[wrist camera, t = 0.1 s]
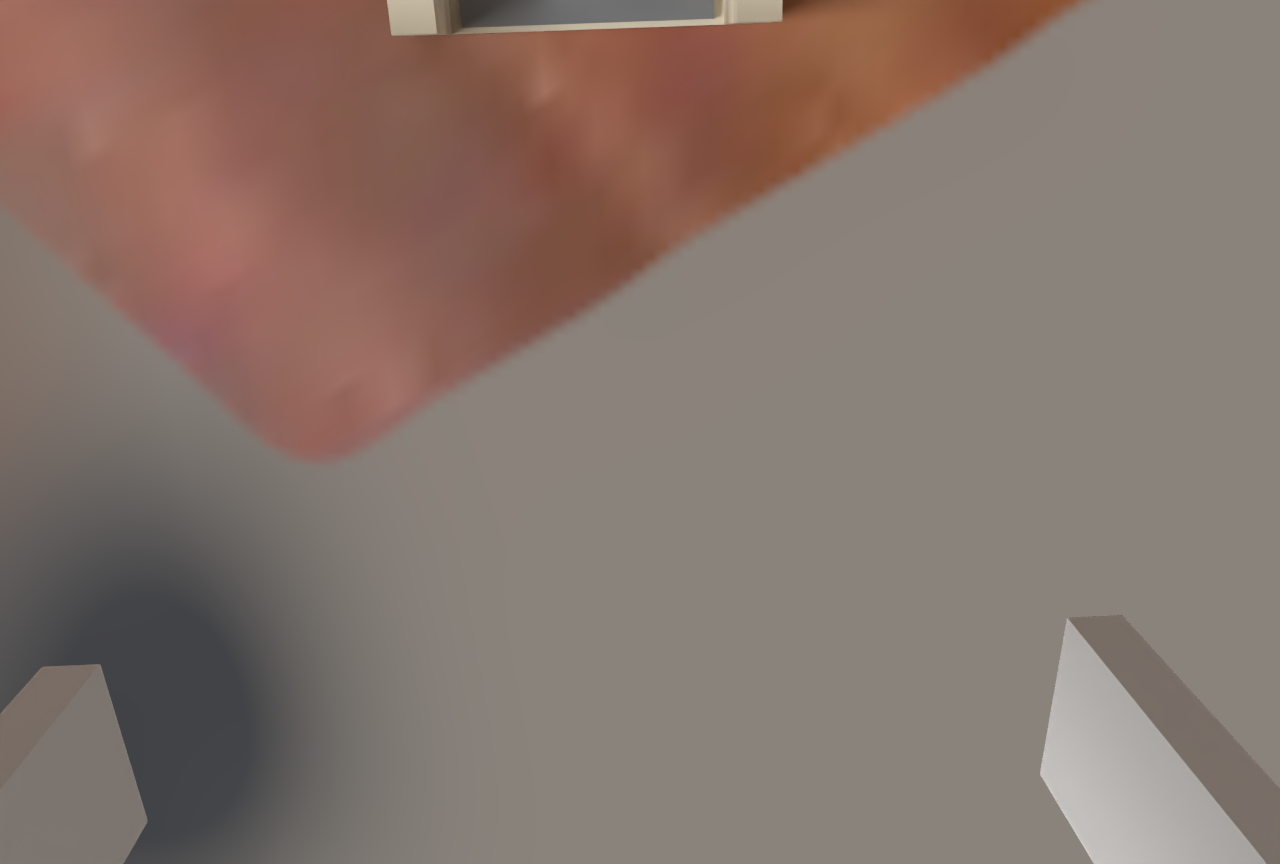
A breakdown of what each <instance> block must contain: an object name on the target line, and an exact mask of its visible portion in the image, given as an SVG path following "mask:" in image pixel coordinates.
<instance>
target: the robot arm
mask: <svg viewBox="0 0 1280 864" xmlns="http://www.w3.org/2000/svg"><path fill="white" fill-rule="evenodd" d="M1040 775H1041V776H1042V778H1043V780H1044V782H1045V783H1046V785H1047V787H1048V788H1049V790H1050V792H1051V793H1052V795H1053V796H1054V798H1055V800H1056V802H1057V803H1058V805H1059V806H1060V808H1061V810H1062V812H1063V813H1064V815H1065V816H1066V818H1067V820H1068V822H1069V823H1070V825H1071V826H1072V828H1073V830H1074V831H1075V833H1076V835H1077V837H1078V838H1079V840H1080V841H1081V843H1082V845H1083V846H1084V848H1085V850H1086V851H1087V853H1088V855H1089V856H1090V858H1091V860H1092V861H1093V863H1094V864H1280V788H1279V787H1278V786H1277V785H1276V784H1275V783H1274V781H1273V780H1272V779H1271V778H1270V777H1269V776H1268V775H1267V774H1266V773H1265V772H1264V771H1263V769H1262V768H1261V767H1260V766H1259V765H1258V764H1257V763H1256V762H1255V761H1254V760H1253V759H1252V757H1251V756H1250V755H1249V754H1248V753H1247V752H1246V751H1245V750H1244V748H1243V747H1242V746H1241V745H1240V744H1239V743H1238V742H1237V741H1236V740H1235V739H1234V738H1233V736H1232V735H1231V734H1230V733H1229V732H1228V731H1227V730H1226V729H1225V728H1224V727H1223V725H1222V724H1221V723H1220V722H1219V721H1218V720H1217V719H1216V718H1215V717H1214V716H1213V715H1212V713H1211V712H1210V711H1209V710H1208V709H1207V708H1206V707H1205V706H1204V705H1203V703H1202V702H1201V701H1200V700H1199V699H1198V698H1197V697H1196V696H1195V695H1194V694H1193V692H1191V690H1190V689H1189V688H1188V687H1187V686H1186V685H1185V684H1184V683H1183V682H1182V680H1181V679H1180V678H1179V677H1178V676H1177V675H1176V674H1175V673H1174V672H1173V671H1172V669H1171V668H1170V667H1169V666H1168V665H1167V664H1166V663H1165V662H1164V661H1163V660H1162V658H1161V657H1160V656H1159V655H1158V654H1157V653H1156V652H1155V651H1154V650H1153V649H1152V648H1151V646H1150V645H1149V644H1148V643H1147V642H1146V641H1145V640H1144V639H1143V638H1142V636H1140V634H1139V633H1138V632H1137V631H1136V630H1135V629H1134V628H1133V627H1132V626H1131V624H1130V623H1129V622H1128V621H1127V620H1126V619H1125V618H1124V617H1123V616H1122V615H1115V616H1114V615H1113V616H1093V617H1072V618H1067V622H1066V628H1065V634H1064V639H1063V646H1062V651H1061V657H1060V662H1059V668H1058V674H1057V679H1056V685H1055V691H1054V697H1053V702H1052V708H1051V714H1050V719H1049V726H1048V731H1047V737H1046V742H1045V748H1044V754H1043V760H1042V766H1041V771H1040ZM146 823H147V817H146V814H145V811H144V807H143V804H142V801H141V798H140V794H139V791H138V788H137V784H136V781H135V778H134V775H133V771H132V768H131V765H130V761H129V758H128V755H127V751H126V748H125V745H124V742H123V738H122V735H121V732H120V728H119V725H118V722H117V718H116V716H115V712H114V708H113V705H112V702H111V699H110V695H109V692H108V689H107V685H106V682H105V679H104V675H103V672H102V669H101V666H100V664H97V665H77V666H54V667H42V668H41V669H40V670H39V671H38V672H37V673H36V674H35V676H34V677H33V678H32V679H31V680H30V681H29V682H28V683H27V685H26V686H25V687H24V688H23V689H22V690H21V692H19V694H18V695H17V696H16V697H15V698H14V699H13V700H12V702H11V703H10V704H9V705H8V706H7V707H6V708H5V709H4V711H3V712H2V713H1V714H0V864H123V863H124V861H125V860H126V858H127V856H128V854H129V853H130V851H131V849H132V848H133V846H134V844H135V842H136V841H137V839H138V837H139V835H140V834H141V832H142V830H143V828H144V827H145V825H146Z"/></svg>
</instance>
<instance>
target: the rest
mask: <svg viewBox="0 0 1280 864" xmlns="http://www.w3.org/2000/svg"><path fill="white" fill-rule="evenodd" d="M387 3H388V11H389V19H390V27H391V35H400V36H424V35H452V34H479V33H507V32H534V31H561V30H589V29H616V28H644V27H671V26H698V25H726V24H753V23H768V22H778V21H782V3H783V0H387Z"/></svg>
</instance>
